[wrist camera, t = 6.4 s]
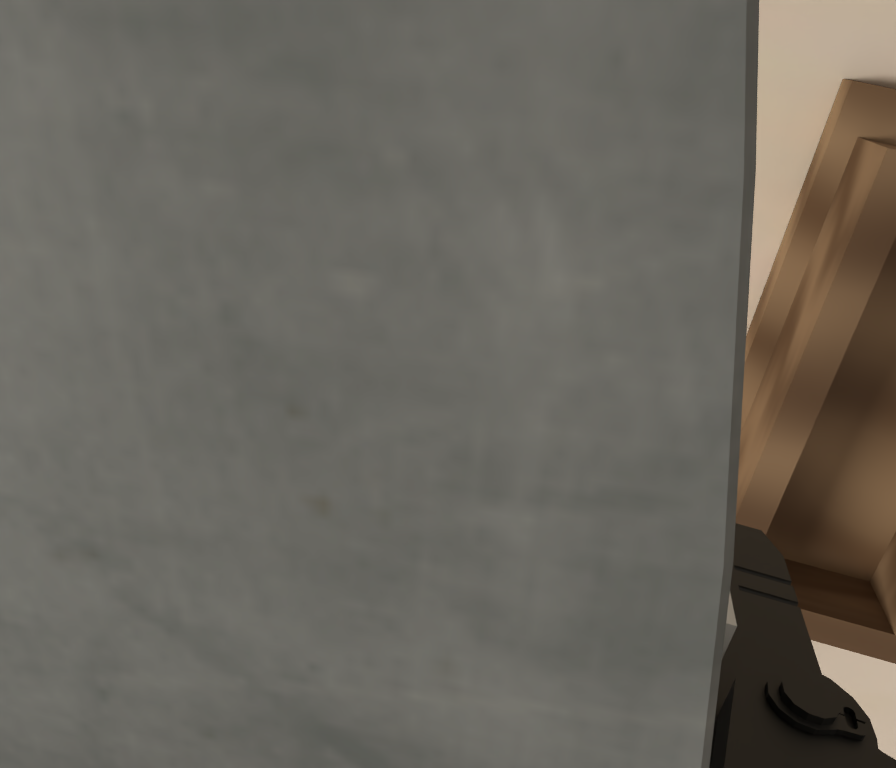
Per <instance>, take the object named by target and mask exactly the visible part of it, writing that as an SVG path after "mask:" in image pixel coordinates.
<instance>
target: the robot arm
mask: <svg viewBox="0 0 896 768" xmlns="http://www.w3.org/2000/svg"><path fill="white" fill-rule="evenodd" d="M791 582H792V581H791V578H790V575H789V572H788V569H787V565H786V562H785V559H784V556H783V555H782V554H781V553H780V551H779V550H778V549H777V548H776V547H775V546H774V544H773V543H772V542H771V541H770V540H769V539H768V537H767V536H766V535H765V534H764V533H763V532H762V530H758V529H755V528H751V527H748V526H744V525H741V524H737V523H735V540H734V558H733V568H732V577H731V586H730V594H729V603H728V611H727V620H726V628H725V637H724V645H723V654H722V662H721V671H720V679H719V688H718V696H717V705H716V713H715V722H714V731H713V739H712V748H711V756H710V765H709V768H896V760H895V759H893V758H891V757H890V756H888V755H886V754H885V753H883V752H882V751H880V750H879V749H878V744H877V738H876V735H875V732H874V730H873V727H872V724H871V721H870V719H869V717H868V716H867V715H866V714H865V712H864V711H863V710H862V708H861V707H860V706H859V705H858V703H857V702H856V701H855V700H854V698H853V697H852V696H850V695H849V694H848V693H847V692H845V691H844V690H843V689H842V688H841V687H839V686H838V685H837V684H836V683H835V682H833V681H832V680H831V679H829V678H827V677H826V676H824V675H822V673H821V670H820V667H819V664H818V661H817V658H816V655H815V652H814V649H813V646H812V643H811V639H810V636H809V633H808V630H807V627H806V624H805V621H804V618H803V615H802V612H801V609H800V608H799V607H797V606H798V599H797V596H796V593H795V590H794V587H793V586H791Z"/></svg>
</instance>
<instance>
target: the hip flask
mask: <svg viewBox="0 0 896 768" xmlns="http://www.w3.org/2000/svg"><path fill="white" fill-rule="evenodd" d="M758 26H759V0H0V768H709V765H710V756H711V748H712V739H713V731H714V722H715V713H716V705H717V696H718V688H719V679H720V671H721V662H722V654H723V645H724V637H725V628H726V620H727V611H728V603H729V594H730V586H731V577H732V568H733V558H734V540H735V523H736V505H737V488H738V470H739V452H740V435H741V417H742V400H743V382H744V365H745V347H746V330H747V312H748V294H749V277H750V259H751V242H752V224H753V207H754V189H755V172H756V125H757V75H758Z"/></svg>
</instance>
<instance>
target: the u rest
mask: <svg viewBox="0 0 896 768" xmlns="http://www.w3.org/2000/svg"><path fill="white" fill-rule="evenodd" d="M736 523H737V524H741V525H744V526H748V527H751V528H755V529H758V530H762V532H763V533H764V534H765V535H766V536H767V537H768V539H769V540H770V541H771V542H772V543H773V544H774V546H775V547H776V548H777V549H778V550H779V551H780V553H781V554H782V555H783V556H784V559H785V562H786V565H787V569H788V572H789V575H790V578H791V581H792V582H791V586H793V587H794V590H795V593H796V596H797V599H798V606H797V607H799V608H800V609H801V612H802V615H803V618H804V621H805V624H806V627H807V630H808V633H809V636H810V639H811V640H813V641H817V642H820V643H824V644H828V645H831V646H835V647H838V648H842V649H845V650H849V651H852V652H856V653H860V654H863V655H867V656H870V657H874V658H877V659H881V660H884V661H888V662H892V663H895V664H896V89H892V88H887V87H882V86H877V85H873V84H868V83H863V82H858V81H854V80H847V79H843V80H842V83H841V85H840V88H839V91H838V93H837V96H836V99H835V101H834V104H833V107H832V109H831V112H830V115H829V117H828V120H827V123H826V125H825V128H824V131H823V133H822V136H821V139H820V141H819V144H818V147H817V149H816V152H815V155H814V157H813V160H812V163H811V165H810V168H809V171H808V173H807V176H806V179H805V181H804V184H803V187H802V189H801V192H800V194H799V197H798V200H797V202H796V205H795V208H794V210H793V213H792V216H791V218H790V221H789V224H788V226H787V229H786V232H785V234H784V237H783V240H782V242H781V245H780V248H779V250H778V253H777V256H776V258H775V261H774V264H773V266H772V269H771V272H770V274H769V277H768V280H767V282H766V285H765V288H764V290H763V293H762V296H761V298H760V301H759V304H758V306H757V309H756V312H755V314H754V317H753V320H752V322H751V325H750V328H749V330H748V333H747V336H746V347H745V365H744V382H743V400H742V417H741V435H740V452H739V470H738V488H737V505H736Z"/></svg>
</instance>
